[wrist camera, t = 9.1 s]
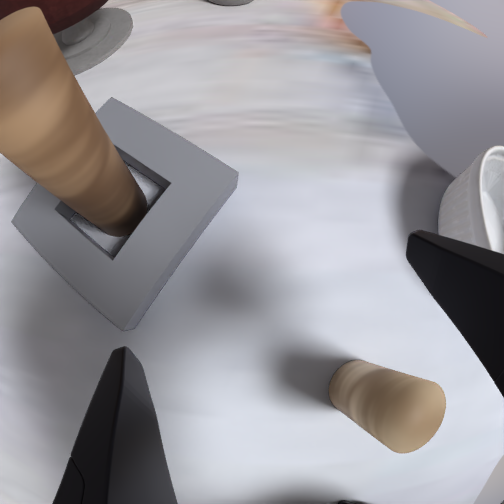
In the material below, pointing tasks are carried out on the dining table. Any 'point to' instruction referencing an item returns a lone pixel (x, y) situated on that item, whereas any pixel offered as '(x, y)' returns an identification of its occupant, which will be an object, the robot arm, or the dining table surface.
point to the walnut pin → (60, 129)
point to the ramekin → (476, 203)
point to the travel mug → (230, 2)
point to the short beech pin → (389, 404)
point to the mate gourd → (80, 28)
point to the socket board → (150, 228)
